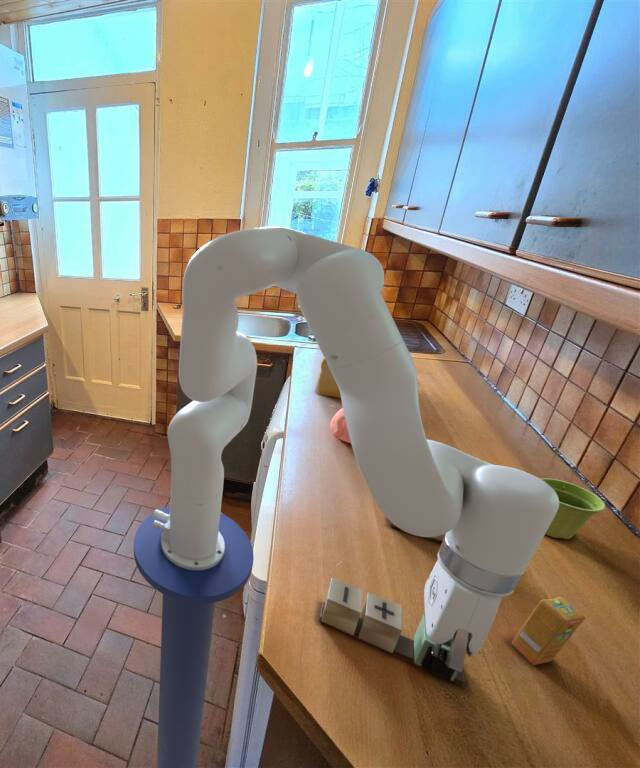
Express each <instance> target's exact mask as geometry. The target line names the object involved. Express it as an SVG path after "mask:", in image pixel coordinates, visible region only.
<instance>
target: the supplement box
mask: <svg viewBox="0 0 640 768" xmlns="http://www.w3.org/2000/svg"><path fill="white" fill-rule="evenodd" d="M585 620H586V616H584V615H583V613H581V611H579V610H578V609H577V608H576V607H574V606H573V605H572V604H571V603H569V602H568V601H567V600H566V599H565V598H563V597H562V596H557V597H556V598H551V599H541V600H540V601H539V602H538V603H537V604H536V606H535V608H534V609H533V610H532V612H531V614H530V615H529V616H528V618H527V619H526V620H525V622H524V624H523V625H522V626H521V628H520V629H519V631H518V632H517V634H516V635H515V636H514V638H513V640H512V642H511V645H512V646H513V647H514V648H515V649H516V650H517V651H518V652H519V653H520V654H521V655H522V656H523V657H524V658H525V659H526V660H527V661H528V662H529V663H530V664H531V665H533V666H537V665H540V664H546V663H550V662H552V661H553V660H554V659H555V657H556V656H557V655H558V653H559V652H560V651H561V650H562V649H563V647H564V646H565V644H566V643H567V642H568V641H569V640H570V639H571V637H572V636H573V635H574V633H575V632H576V631H577V629H579V627H580V625H581V624H582V623H583V622H584V621H585Z"/></svg>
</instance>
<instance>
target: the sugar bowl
mask: <svg viewBox="0 0 640 768" xmlns="http://www.w3.org/2000/svg"><path fill="white" fill-rule="evenodd" d="M329 428H330V430H331V432H332V436H333V437H334V438H338V439H340V440H341V441H343V442H345V443H348V444H350V445H351V446H352V444H351V440H350V436H349V432H348V428H347V423H346V420H345V416H344V412H343V407H342V408H340V409H339V410H338V411H336V413H335V414H334V415H333V417H332V418H331V420H330V424H329Z"/></svg>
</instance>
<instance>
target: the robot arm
mask: <svg viewBox="0 0 640 768" xmlns="http://www.w3.org/2000/svg"><path fill="white" fill-rule="evenodd" d="M385 279H386V277H385V271H384V268H383V265H382V263H381V262H380V261H379V259H378V258H377V257H376V256H375V255H374V254H372V253H370V252H368V251H366V250H364V249H362V248H358V247H355V246H351V245H347V244H344V243H340V242H336V241H333V240H330V239H327V238H323V237H320V236H316V235H313V234H309V233H306V232H304V231H300V230H298V229H297V230H296V229H293V228H290V227H286V226H279V225H274V226H273V225H272V226H271V225H270V226H262V227H252V228H244V229H239V230H235V231H232V232H228V233H225V234H222V235H220V236H217V237H216V238H213V239H212V240H210V241H209V242H207V243H205V244H203V245H202V246H201V247H199V249H198V250H197V251H196V252H195V253H194V254H193V255H192V256H191V258H190V259H189V261H188V263H187V265H186V268H185V270H184V274H183V278H182V288H181V293H182V295H181V299H182V301H181V303H182V314H181V315H182V317H181V318H182V319H181V330H180V343H179V344H180V345H179V360H178V381H179V385H180V389H181V390H182V392H183V394H184V395H185V397H187V398H188V399H189V400H191V401H190V403H188V404H186V405H185V406H184V407H182V408H180V410H179V411H177V413H176V414H175V415H174V416H173V417H172V419H171V420H170V422H169V425H168V428H167V441H168V447H169V452H170V463H171V465H170V469H171V470H170V473H171V474H170V499H169V506H170V514H169V515H168V514H165V513H164V512H162V511H160V509H156V508H155V510H154V511H153V512H152V513H153V518H154V519H157V520H159V521H163V522H165V524H163V523H161V522H159V521H157V520H155V521H154V522H153V527H156V528H158V529H161V530H163V533H162V536H161V547H162V550H163V552H164V554H165V556H166V557H167V558H168V559H169V560H170V561H171V562H172V563H174V564H175V565H177V566H179V567H181V568H185V569H188V570H205V569H209V568H212V567H214V566H215V565H217V564H218V563H219V562H220V561H221V559H222V558H223V556H224V552H225V542H224V539H223V537H222V535H221V534H220V532H219V522H220V513H222V511H221V510H222V501H223V492H224V483H225V482H224V480H225V468H224V464H223V461H222V454H223V451H224V449H225V447H226V446H227V445H228V444H229V443H231V441H232V440H233V439H234V438H235V437H236V436H237V435H238V434H239V433H240V432H241V431H242V430H243V429H244V428H245V427H246V425H247V424H248V422H249V420H250V416H251V411H252V407H253V400H254V399H253V398H254V391H255V386H256V385H255V384H256V378H257V370H258V355H257V351H256V348H255V346H254V344H253V343H252V341H251V340H250V339H249V337H247V336H246V335H245V334H243V333H241V332H239V331H238V329H239V319H240V317H239V310H238V304H237V301H238V300H239V299H240V298H241V297H245V296H248V295H253V294H257V293H259V292H262V291H265V290H267V289H270V288H273V287H275V288H279V289H282V290H284V291H287V292H289V293H292V294H295V295H296V299H297V303H298V306H299V309H300V312H301V313H302V315H303V318H304V319H305V322H306V324H307V325H308V328H309V330H310V333H311V334H312V336H313V338H314V339H315V341H316V343H317V346H318V348H319V350H320V352H321V354H322V356H323V357H324V358H325V360H326V362H327V364H328V366H329V369H330V371H331V373H332V375H333V377H334V379H335V381H336V383H337V386H338V388H339V391H340V394H341V398H340V399H341V407H342V408H343V412H344V416H345V420H346V423H347V428H348V432H349V436H350V440H351V444H352V445H351V444H350V445H351V448H352V452H353V454H354V457H355V460H356V463H357V465H358V469H359V470H360V473H361V475H362V476H363V479H364V481H365V483H366V486H367V487H368V489H369V492H370V493H371V495H372V497H373V499H374V501H375V503H376V504H377V506H378V508H379V509H380V511H381V513H383V515H384V516H385V518H387V519H388V521H389V522H390V521H391V522H392V523H393V524H394V525H396V526H397V527H398V528H400V529H402V530H401V531H403V532H405V533H408V534H410V535H413V536H417V537H421V538H424V537H436V536H440V535H443V534H445V533H446V535H445V537H444V540H443V542H442V543H440V544H441V545H440V547H439V550H438V552H437V560H436V562H435V564H434V566H433V568H432V570H431V572H430V574H429V576H428V578H427V580H426V582H425V584H424V589H423V601H424V604H423V605H424V615H425V621H426V632H427V635H428V637H429V639H430V640H431V641H433V642H434V644H433V647H430V646H429V647H428V650H427V652H426V654H425V656H424V658H423V660H422V663H421V667H422V668H421V669H422V670H423V671H426V672H429V674H433V675H435V676H437V677H439V678H441V679H443V680H446V681H449V680H450V679H451V677H452V675H453V673H454V671H457V672H460V673H461V672H462V669H463V670H464V664H465V660H466V658H465V657H466V655H467V656H468V658H473V657H474V656H476V655H477V654H478V652H480V650H481V648H482V646H484V642H485V641H486V639H487V637H488V635H489V633H490V631H491V628H492V625H493V623H494V620H495V618H496V616H497V613H498V610H499V607H500V605H501V601H502V598H504V597H507V596H510V595H512V594H513V593H514V592H515V590H516V588H517V586H518V584H519V582H520V581H521V579H522V577H523V575H524V573H525V572H526V570H527V568H528V566H529V564H530V563H531V561H532V559H533V557H534V555H535V554H536V551H537V549H538V548H539V546H540V544H541V542H542V540H543V539H544V537H545V535H546V534H545V533H546V531H547V530H548V528H549V526H550V524H551V522H552V520H553V519H554V517H555V515H556V513H557V511H558V508H559V498H558V496H557V494H556V492H555V491H554V490H553V488H552V487H550V486H549V485H548V484H547V483H546V482H544V481H543V480H541V479H542V478H539V477H537V476H536V475H534V474H532V473H529V472H526V471H524V470H521V469H518V468H515V467H510V466H505V465H498V464H497V465H496V464H493V463H490V462H487V461H485V460H482V459H480V458H477V457H476V456H473V455H471V454H468V453H466V452H464V451H461V450H460V449H457V448H455V447H453V446H451V445H448V444H446V443H444V442H439V441H436V440H433V439H428V438H427V437H426V433H425V429H424V425H423V422H422V417H421V410H420V399H419V379H418V373H417V368H416V365H415V361H414V358H413V356H412V354H411V353H410V350H409V349H408V346H407V345H406V343H405V340H404V339H403V337H402V334H401V333H400V330H399V329H398V326H397V324H396V322H395V320H394V318H393V316H392V314H391V312H390V309H389V308H388V305H387V304H386V303H387V302H386V301H385V299H384V297H383V294H382V292H383V289H384V285H385ZM400 529H399V530H400ZM443 643H445V644H448V645H450V651H447V650H444V649H442V648H441V646H442V644H443ZM464 659H465V660H464Z"/></svg>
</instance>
